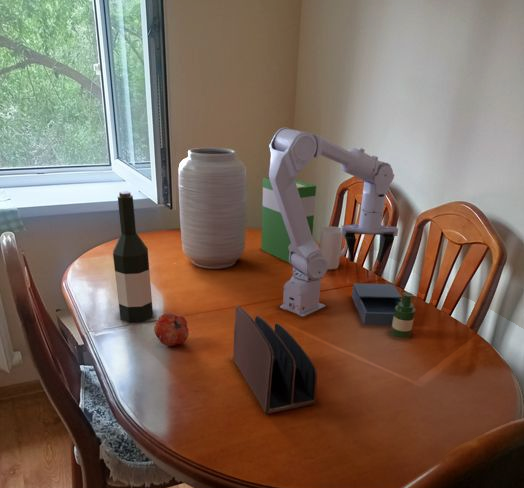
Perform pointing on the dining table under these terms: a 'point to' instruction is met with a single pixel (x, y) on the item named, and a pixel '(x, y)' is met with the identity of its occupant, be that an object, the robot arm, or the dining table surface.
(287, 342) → the letter holder
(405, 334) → the bottle
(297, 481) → the dining table surface
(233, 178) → the vase
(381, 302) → the tray
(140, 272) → the wine bottle
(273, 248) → the hardback book
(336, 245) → the mug
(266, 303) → the dining table surface
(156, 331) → the pomegranate
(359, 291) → the flap
